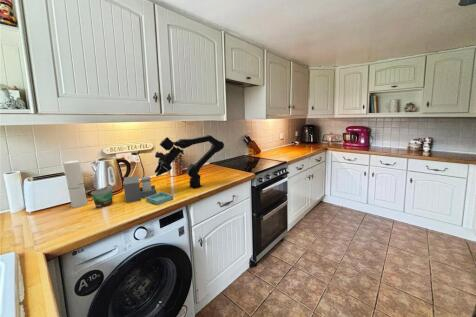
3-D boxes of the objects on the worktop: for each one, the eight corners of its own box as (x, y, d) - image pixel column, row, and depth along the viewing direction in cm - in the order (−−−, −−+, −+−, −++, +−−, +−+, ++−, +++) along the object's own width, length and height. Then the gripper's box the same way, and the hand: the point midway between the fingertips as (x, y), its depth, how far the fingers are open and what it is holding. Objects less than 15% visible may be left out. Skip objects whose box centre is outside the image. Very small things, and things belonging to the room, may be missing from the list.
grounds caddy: (151, 192, 139) (149, 176, 137) (152, 195, 135) (150, 178, 133) (143, 194, 137) (141, 177, 135) (143, 196, 133) (141, 179, 131)
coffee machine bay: (154, 189, 145) (153, 173, 143) (157, 197, 131) (155, 179, 129) (126, 194, 138) (124, 177, 136) (126, 202, 124) (123, 184, 122)
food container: (103, 209, 116) (100, 191, 114) (93, 208, 117) (90, 191, 115) (120, 200, 127) (117, 184, 125) (110, 200, 129) (108, 184, 127)
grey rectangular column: (90, 203, 125) (82, 160, 120) (77, 208, 118) (69, 163, 114) (81, 201, 127) (73, 160, 122) (68, 206, 121) (60, 163, 116)
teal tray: (162, 195, 133) (161, 191, 133) (173, 199, 127) (172, 195, 127) (146, 201, 125) (146, 197, 124) (157, 205, 119) (157, 201, 118)
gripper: (160, 145, 143) (144, 163, 141) (164, 149, 127) (145, 169, 124) (173, 155, 148) (158, 173, 146) (178, 160, 132) (161, 180, 129)
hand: (155, 174), depth 136 cm, fingers open, 9 cm apart
